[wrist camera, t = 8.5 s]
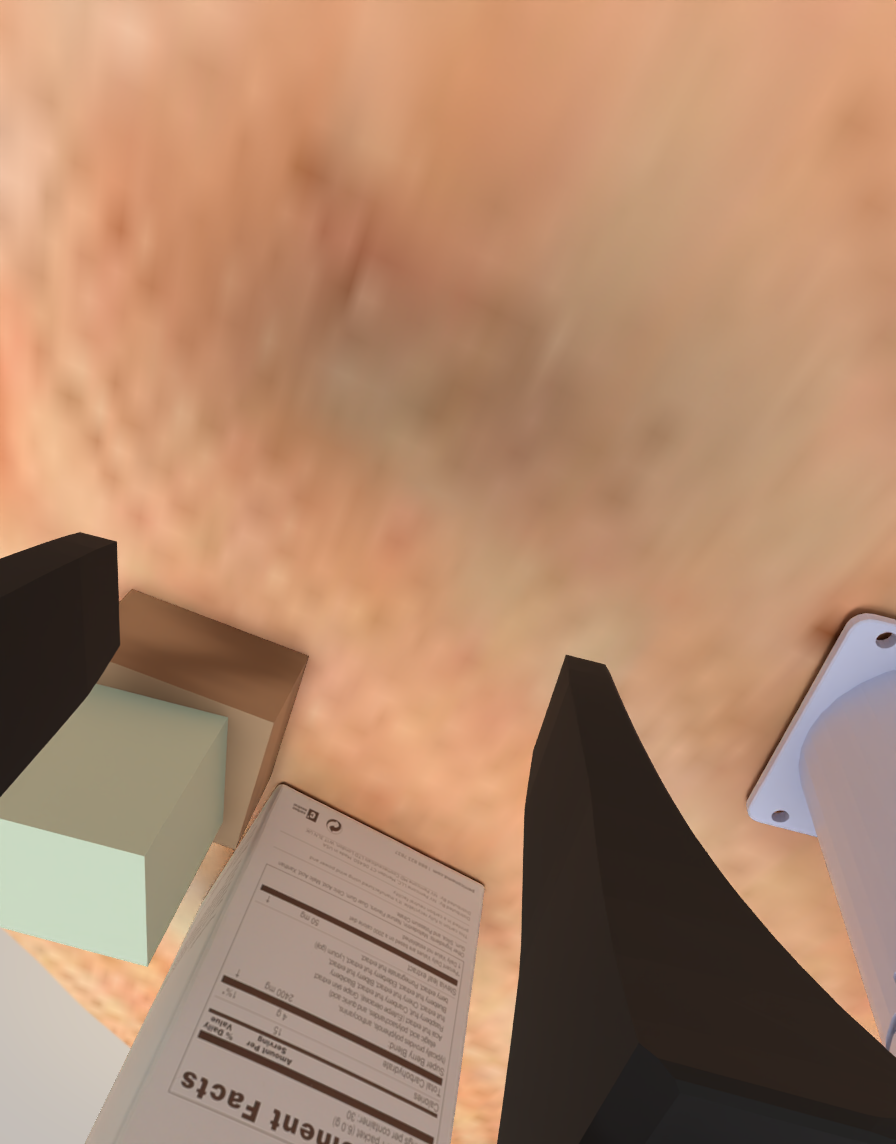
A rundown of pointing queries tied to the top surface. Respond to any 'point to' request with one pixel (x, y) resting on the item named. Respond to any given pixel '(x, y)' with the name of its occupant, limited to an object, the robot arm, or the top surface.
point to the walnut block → (212, 689)
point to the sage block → (112, 824)
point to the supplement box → (308, 996)
